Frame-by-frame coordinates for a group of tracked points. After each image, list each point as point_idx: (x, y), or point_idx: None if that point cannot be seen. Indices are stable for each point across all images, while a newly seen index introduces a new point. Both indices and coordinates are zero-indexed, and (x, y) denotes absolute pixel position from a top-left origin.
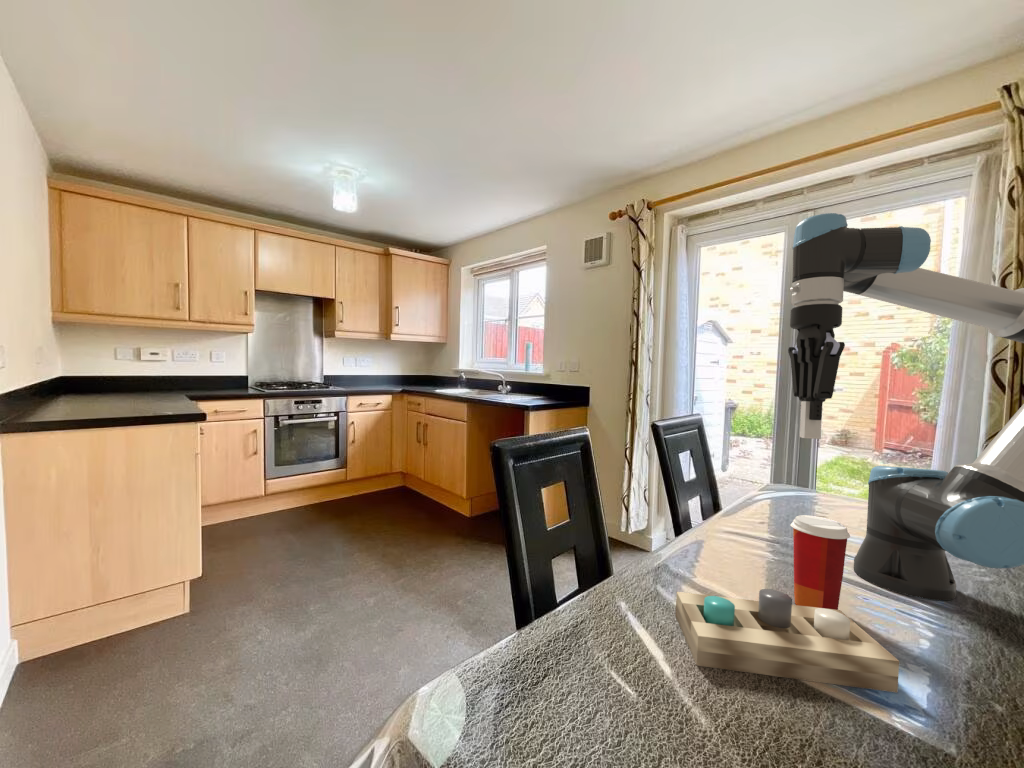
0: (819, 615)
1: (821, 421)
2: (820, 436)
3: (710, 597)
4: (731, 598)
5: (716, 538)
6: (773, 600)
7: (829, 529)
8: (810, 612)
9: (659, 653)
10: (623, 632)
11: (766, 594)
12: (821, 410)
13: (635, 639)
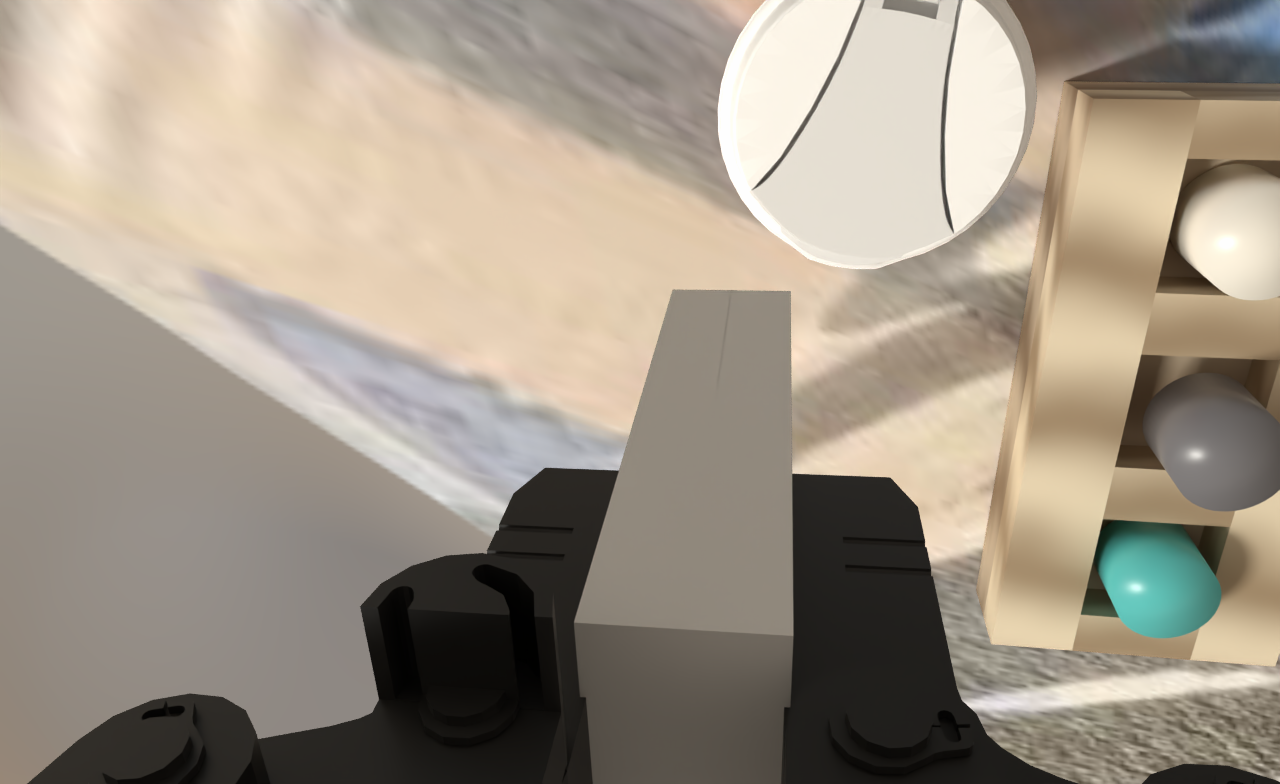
0: (1263, 295)
1: (786, 400)
2: (790, 307)
3: (1128, 613)
4: (1024, 487)
5: (140, 192)
6: (1274, 490)
7: (1019, 144)
8: (1119, 242)
9: (1179, 678)
10: (1078, 736)
11: (1223, 491)
12: (930, 598)
13: (1112, 716)
